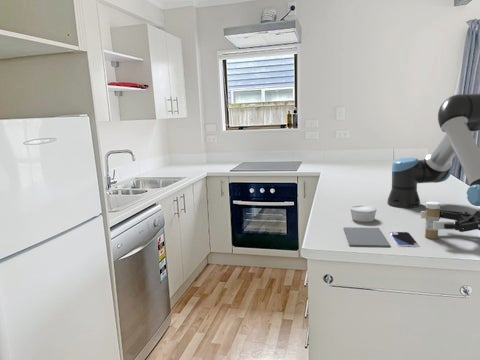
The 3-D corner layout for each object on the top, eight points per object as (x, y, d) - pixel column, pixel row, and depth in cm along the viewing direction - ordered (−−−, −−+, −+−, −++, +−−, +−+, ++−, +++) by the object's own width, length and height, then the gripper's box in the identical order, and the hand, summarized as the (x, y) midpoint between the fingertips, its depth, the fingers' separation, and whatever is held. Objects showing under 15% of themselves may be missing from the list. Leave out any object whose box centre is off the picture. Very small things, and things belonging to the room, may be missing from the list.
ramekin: (362, 214, 167) (362, 203, 166) (381, 220, 157) (382, 208, 156) (344, 218, 162) (344, 207, 161) (363, 224, 152) (363, 212, 151)
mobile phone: (397, 244, 126) (388, 231, 140) (397, 247, 126) (388, 233, 141) (420, 245, 125) (408, 231, 139) (420, 248, 125) (408, 233, 139)
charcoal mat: (343, 228, 148) (343, 227, 148) (378, 229, 145) (378, 227, 145) (349, 246, 128) (349, 244, 128) (390, 247, 126) (390, 245, 126)
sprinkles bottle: (426, 234, 137) (428, 200, 134) (439, 236, 134) (441, 202, 131) (422, 237, 133) (424, 203, 131) (436, 240, 130) (438, 204, 128)
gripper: (508, 242, 117) (438, 241, 121) (472, 220, 141) (416, 219, 145) (510, 220, 116) (440, 219, 120) (474, 201, 140) (416, 201, 144)
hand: (426, 219), depth 132 cm, fingers open, 13 cm apart
